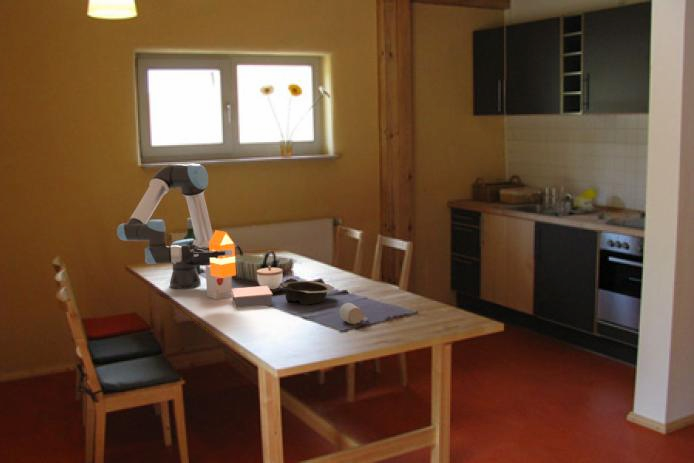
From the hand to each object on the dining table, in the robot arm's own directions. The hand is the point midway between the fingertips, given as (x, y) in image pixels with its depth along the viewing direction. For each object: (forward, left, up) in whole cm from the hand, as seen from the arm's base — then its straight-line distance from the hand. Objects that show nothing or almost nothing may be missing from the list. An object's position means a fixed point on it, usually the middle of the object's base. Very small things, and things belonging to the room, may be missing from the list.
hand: (231, 250), depth 357 cm
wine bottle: (-77, -15, -25) cm, 82 cm away
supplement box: (-18, -5, -25) cm, 31 cm away
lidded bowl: (-26, +20, -25) cm, 41 cm away
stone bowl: (+4, +33, -25) cm, 42 cm away
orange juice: (0, -4, -11) cm, 12 cm away
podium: (-2, +8, -25) cm, 26 cm away
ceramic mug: (+47, +44, -25) cm, 69 cm away
